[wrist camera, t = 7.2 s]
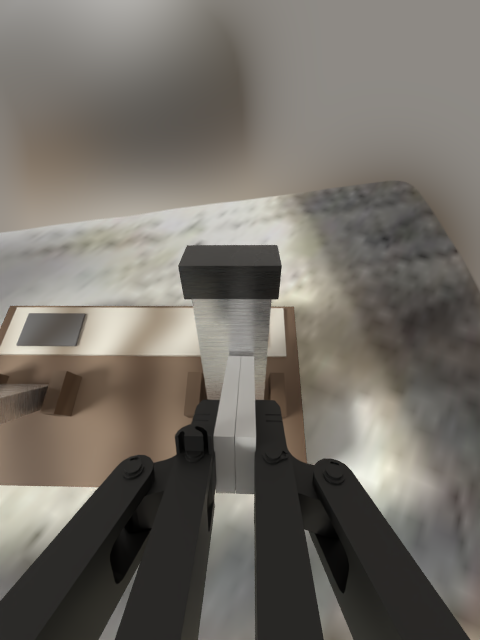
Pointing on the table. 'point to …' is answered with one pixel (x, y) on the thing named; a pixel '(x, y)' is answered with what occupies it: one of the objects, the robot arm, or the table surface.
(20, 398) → the lever
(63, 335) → the switch unit
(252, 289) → the lever
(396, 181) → the table surface
